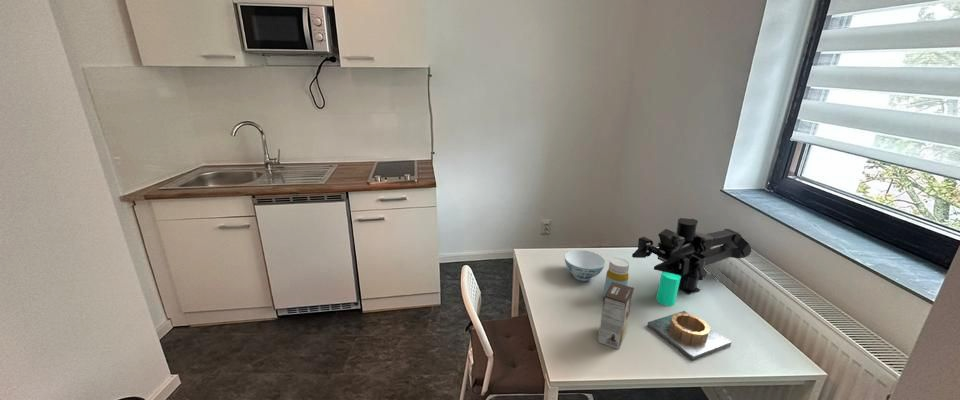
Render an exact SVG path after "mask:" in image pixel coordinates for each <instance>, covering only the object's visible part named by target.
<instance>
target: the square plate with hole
mask: <svg viewBox="0 0 960 400" xmlns="http://www.w3.org/2000/svg"><path fill="white" fill-rule="evenodd" d="M646 327H647V328H648V329H650V330H651V331H653V332H654V333H655V334H656V335H657V336H659V337H660V338H662V339H663V340H664V341H665V342H667V344H669V345H670V346H672V347H673V348H674V349H676V350H677V351H679V353H681V354H682V355H683V356H685V357H686V358H687V359H688V360H690V361H692V362H693V361H696V360H698V359H701V358H704V357H706V356H709V355H712V354H714V353H716V352H718V351H722V350H724V349H726V348H729V347H731V345H732V341H731V340H730V339H728V338H726V337H725V336H723V335H722V334H721V333H719V332H717V331H716V330H715V329H713V328H712V327H710V326H709V324H708V323H707V322H706V321H705V320H703V319H702V318H700V317H699V316H696V315H693V314H690V313H688V312H686V310H683V311H679V312H676V313H673V314H670V315H666V316H663V317H660V318H657V319H654V320H651V321H650V320H649V321H647V324H646Z"/></svg>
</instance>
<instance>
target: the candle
mask: <svg viewBox="0 0 960 400" xmlns="http://www.w3.org/2000/svg"><path fill="white" fill-rule="evenodd" d="M680 278H681V276H680V275H675V274H672V273H668V272H663V271H661V273H660V279H659V283H658V289H657V294H656V297H655V300H656V301H657V302H658V303H659V304H661V305H663V306H668V307H672V306H675V304H676V301H677V300H676V299H677V295H678V290H679V289H678V287H679V283H680Z"/></svg>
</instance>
